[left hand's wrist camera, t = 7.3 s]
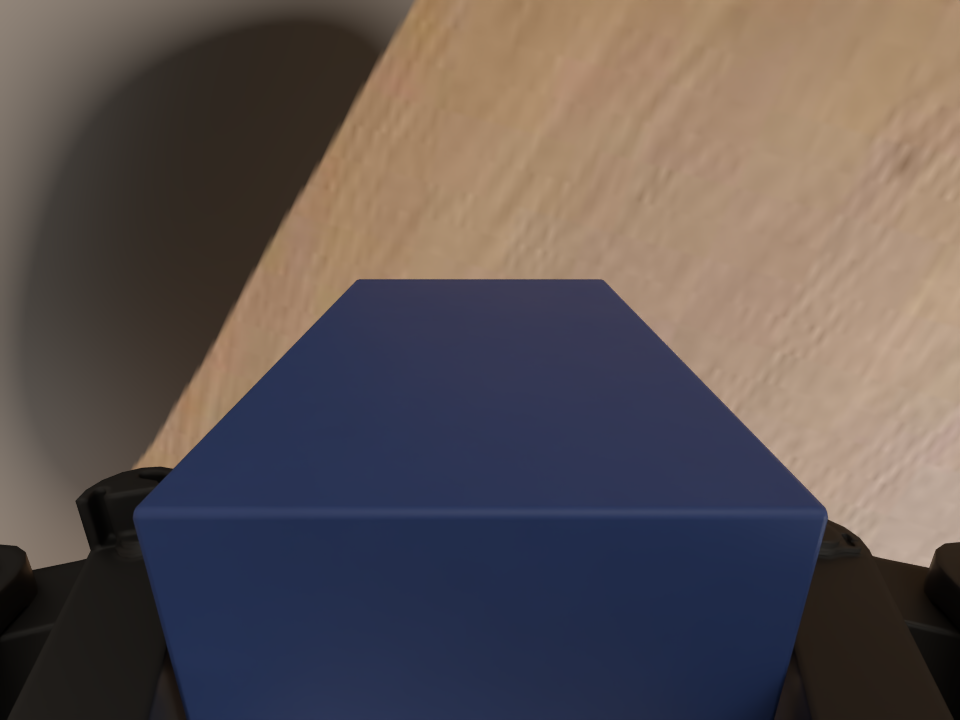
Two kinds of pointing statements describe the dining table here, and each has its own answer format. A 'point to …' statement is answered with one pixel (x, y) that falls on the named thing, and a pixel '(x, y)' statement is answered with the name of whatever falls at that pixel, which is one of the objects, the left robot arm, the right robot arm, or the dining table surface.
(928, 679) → the left robot arm
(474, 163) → the dining table surface
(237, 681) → the box
